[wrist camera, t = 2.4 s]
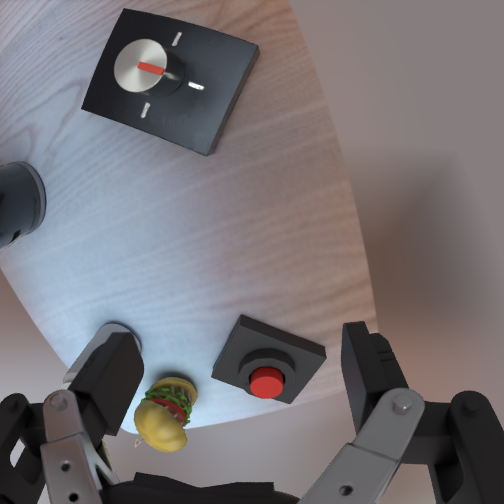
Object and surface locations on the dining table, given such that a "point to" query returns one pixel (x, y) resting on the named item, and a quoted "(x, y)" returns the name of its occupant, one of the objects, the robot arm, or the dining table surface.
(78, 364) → the beverage can
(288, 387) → the button block
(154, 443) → the hamburger
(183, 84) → the panel
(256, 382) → the button
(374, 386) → the robot arm
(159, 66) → the knob
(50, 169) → the dining table surface
